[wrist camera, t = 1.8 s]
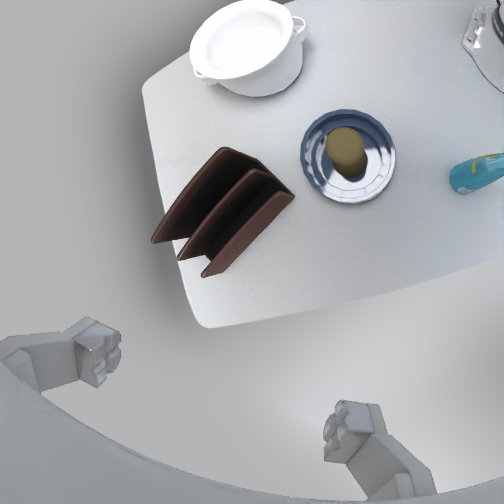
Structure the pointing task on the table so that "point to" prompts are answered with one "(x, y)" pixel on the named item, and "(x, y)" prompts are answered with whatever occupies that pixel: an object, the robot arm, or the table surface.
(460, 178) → the tube
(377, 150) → the bowl
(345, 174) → the cork
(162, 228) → the letter holder
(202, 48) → the pot
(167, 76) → the table surface
